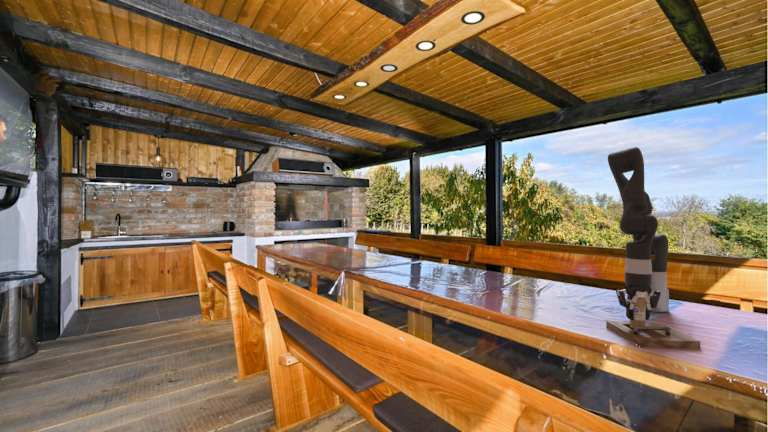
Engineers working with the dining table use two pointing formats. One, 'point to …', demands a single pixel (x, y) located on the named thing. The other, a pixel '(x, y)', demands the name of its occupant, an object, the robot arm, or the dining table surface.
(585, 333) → the dining table surface
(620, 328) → the flat wooden frame
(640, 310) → the sprinkles bottle
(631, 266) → the robot arm
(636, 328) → the hook rod
